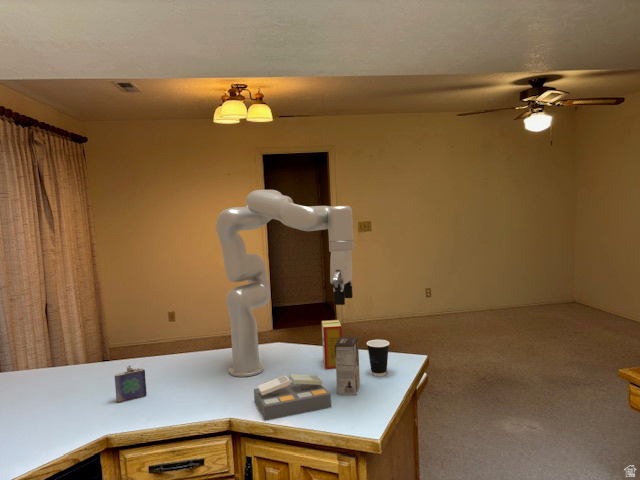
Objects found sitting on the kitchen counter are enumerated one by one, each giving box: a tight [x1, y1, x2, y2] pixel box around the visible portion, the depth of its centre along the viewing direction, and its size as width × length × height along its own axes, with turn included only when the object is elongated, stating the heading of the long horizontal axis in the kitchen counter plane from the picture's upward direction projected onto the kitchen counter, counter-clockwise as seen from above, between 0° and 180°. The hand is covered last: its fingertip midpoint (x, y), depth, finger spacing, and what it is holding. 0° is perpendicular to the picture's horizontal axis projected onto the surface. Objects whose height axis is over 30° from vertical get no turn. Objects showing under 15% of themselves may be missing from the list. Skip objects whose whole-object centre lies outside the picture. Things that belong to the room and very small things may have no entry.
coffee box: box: [335, 336, 361, 396], centre depth 151 cm, size 9×6×16 cm
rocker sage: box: [288, 373, 323, 386], centre depth 145 cm, size 5×9×1 cm, turn 110°
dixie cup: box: [366, 339, 391, 377], centre depth 164 cm, size 8×8×11 cm
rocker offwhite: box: [257, 375, 291, 396], centre depth 141 cm, size 5×9×1 cm, turn 110°
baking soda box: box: [321, 319, 343, 370], centre depth 175 cm, size 10×6×16 cm
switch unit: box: [253, 381, 332, 421], centre depth 142 cm, size 14×20×5 cm
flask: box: [114, 365, 148, 403], centre depth 152 cm, size 9×3×11 cm, turn 121°
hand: (343, 301), depth 146 cm, fingers open, 9 cm apart
